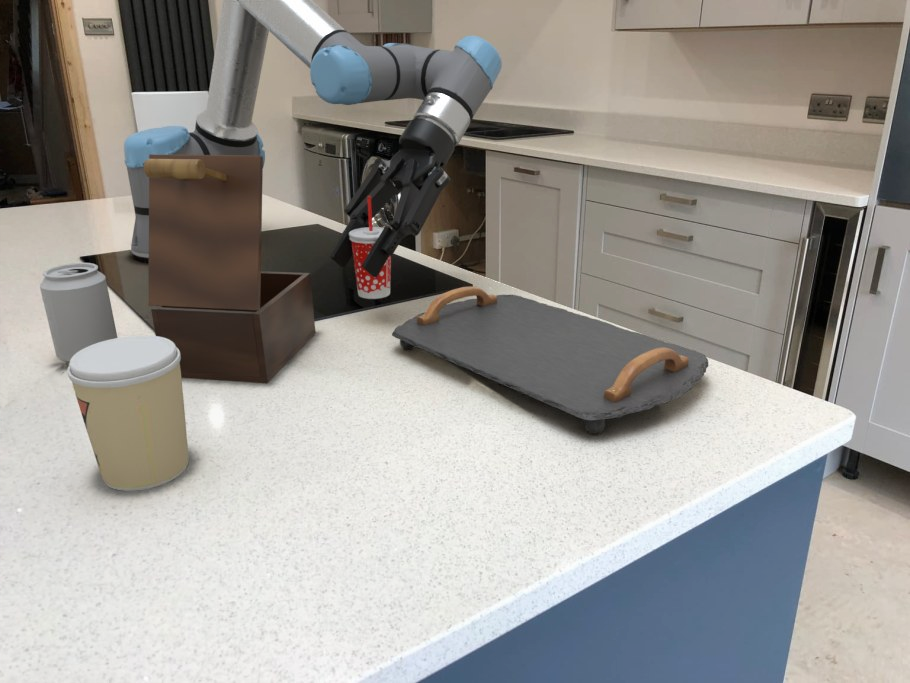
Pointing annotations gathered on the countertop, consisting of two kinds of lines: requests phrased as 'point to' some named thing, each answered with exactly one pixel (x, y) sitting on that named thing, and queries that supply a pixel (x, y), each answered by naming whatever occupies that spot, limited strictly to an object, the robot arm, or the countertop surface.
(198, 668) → the countertop surface
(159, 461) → the coffee cup
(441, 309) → the serving tray
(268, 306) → the chest
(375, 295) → the beverage cup
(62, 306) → the can
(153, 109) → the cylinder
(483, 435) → the countertop surface
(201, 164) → the lid
